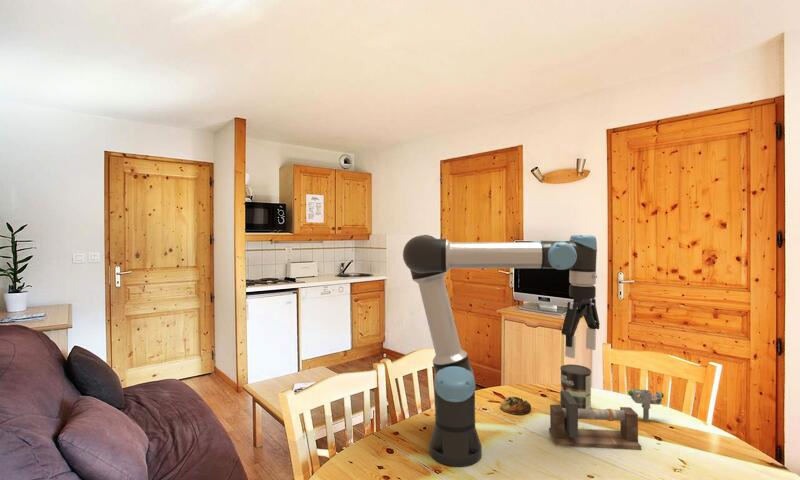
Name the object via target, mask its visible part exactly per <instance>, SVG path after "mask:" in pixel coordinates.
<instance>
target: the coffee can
mask: <svg viewBox="0 0 800 480" xmlns="http://www.w3.org/2000/svg"><path fill="white" fill-rule="evenodd" d="M560 391H568V392H569V393H570V394H571V396H572V397H573V398H574V400H575V401H576V402H577V404H578V409H592V405H591V404H592V401H591V399H592V396H591V395H592V370H591V369H590V368H589V367H586V366H584V365H579V364H563V365H560Z"/></svg>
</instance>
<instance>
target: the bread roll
mask: <svg viewBox="0 0 800 480" xmlns="http://www.w3.org/2000/svg"><path fill="white" fill-rule="evenodd" d="M499 407H500V409H501V410H502V411H503V412H505V413H507V414H510V415H512V414H513V415H526V414H529V413H530V412H531V411H532V406H531V403H529V401H528V400H527V399H526V400H524V399H523V398H520V397H518V396H508V397H506V398H504V399H503V400H502V402H500V406H499Z"/></svg>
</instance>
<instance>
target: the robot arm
mask: <svg viewBox="0 0 800 480" xmlns="http://www.w3.org/2000/svg"><path fill="white" fill-rule="evenodd" d="M597 246H598V245H597V237H596V236H595V235H592V234H572V235H570V237H569V240H565V241H562V240H543V239H540V240H532V241H500V242H499V241H498V242H497V241H489V242H488V241H484V242H483V241H482V242H480V241H479V242H478V241H473V242H470V241H469V242H467V241H466V242H462V241H461V242H457V241H455V242H453V241H450V240H449V239H448V238H436V237H434V236H432V235H429V234H422V235H421V234H420V235H417V236H414V237H412V238H410V239H409V240H407V242H406V243H405V245H404V247H403V252H402V258H403V263H404V264H405V266H406V267H407V268H408V269H409V271H410V274H411V275H410V276H411V278H412V281H413V282H415V283H417V285H418V288H419V291H420V296H421V299H422V300H421V301H422V304H423V309H424V312H425V317H426V321H427V324H428V329H429V333H430V337H431V340H432V345H433V350H434V354H435V355H434V357H433V359H432V365H433V369H434V374H435V377H434V382H433V388H434V416H435V417H434V421H435V422H434V428H433V432H432V435H431V437H430V441H429V454H430V457H431V458H432V459H433V460H435V461H437V462H438V463H440V464H441V465H442V464H443V465H446V466H450V467H467V466H470V465H473V464H475V463H477V462H478V461H480V460H481V458H482V456H483V455H482V453H483V451H482V443H481V440H480V437H479V435H478V431H477V428H476V380H475V375H474V370H473V368H472V365H471V363H470V360H469V354H468V353H467V351H466V350H464V349H463V348H462V346H461V343H460V338H459V334H458V330H457V326H456V323H455V322H456V321H455V319H454V313H453V310H452V305H451V302H450V301H451V300H450V298H449V294H448V289H447V285H446V280H445V276H446V274H448V272H450V270H451V269H556V270H557V271H558V270H560V271H561V270H569V277H568V280H569V281H568V282H569V283H570V284H569V286H568V295H569V297H570V298H572V299H573V301H567V305H566V307H567V308H566V312H565V315H564V316H565V317H564V319H563V320H564V321H563V325H562V327H561V331H560V332H561V335H562V336H563V335H564V336H565V342H564V343H565V347H564V348H565V349H564V351H565V352H564V354H565V355H564V357H566V358H567V357H568V358H571V359H576V335H575V333H576V331H577V329H578V325H579V324H580V320H581V318H584V320H585V323H586V325H587V327H586V330H585V331H586V332H585V334H586V337H585V348H586V349H588V350H591V351H596V344H597V343H596V340H597V330H599V329H600V325H601V323H600V320H599V314H598V309H597V306H596V304H597V302H596V297H597V296H596V295H597V294H596V293H597V292H596V291H597V288H596V286H595V284H596V283H597V280H596V279H598V275H597V258H598V257H597V253H598V247H597ZM596 285H597V284H596Z"/></svg>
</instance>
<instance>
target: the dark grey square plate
mask: <svg viewBox="0 0 800 480" xmlns="http://www.w3.org/2000/svg"><path fill="white" fill-rule="evenodd" d="M559 392H560V395H559V396H560V406H561V407H562V408H566V409H567V419H565V418H564V425H565V430H566V432H567V434H568V435H569V437H574V438H578V429H579V419H578V404H577V402H576V401H575V400H574V398H573V397H572V396H571V394H570V393H569V392H568V391H561V390H560V391H559Z"/></svg>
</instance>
